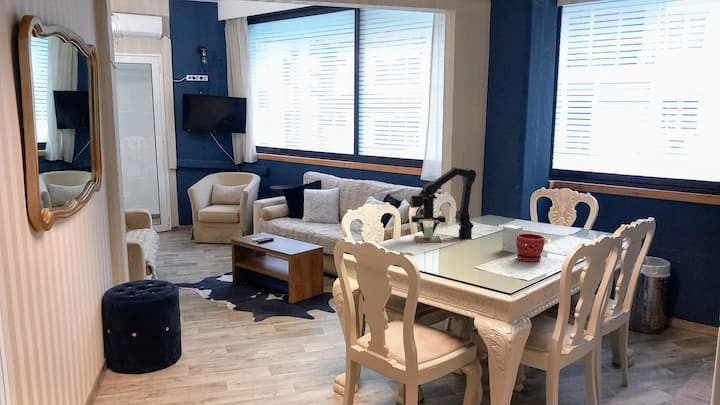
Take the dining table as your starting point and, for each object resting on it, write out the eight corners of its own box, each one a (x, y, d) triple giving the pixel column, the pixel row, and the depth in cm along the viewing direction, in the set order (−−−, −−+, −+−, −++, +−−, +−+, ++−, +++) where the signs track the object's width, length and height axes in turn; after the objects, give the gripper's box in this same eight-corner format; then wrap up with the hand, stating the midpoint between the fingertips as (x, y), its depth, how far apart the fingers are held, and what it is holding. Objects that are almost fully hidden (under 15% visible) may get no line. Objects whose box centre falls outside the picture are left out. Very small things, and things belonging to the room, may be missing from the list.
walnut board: (439, 237, 320) (439, 235, 320) (441, 242, 308) (441, 240, 308) (414, 237, 321) (414, 235, 320) (416, 242, 309) (416, 240, 309)
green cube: (432, 235, 316) (432, 226, 315) (432, 237, 311) (433, 228, 311) (423, 235, 317) (423, 226, 316) (423, 237, 312) (424, 228, 311)
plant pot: (539, 264, 267) (540, 240, 264) (512, 260, 273) (513, 237, 271) (546, 258, 277) (547, 234, 275) (520, 254, 284) (521, 231, 282)
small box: (522, 251, 290) (523, 226, 288) (514, 253, 286) (515, 228, 284) (509, 248, 296) (510, 224, 294) (501, 250, 292) (502, 226, 290)
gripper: (443, 204, 319) (443, 230, 321) (411, 204, 319) (410, 230, 322) (445, 207, 308) (445, 235, 310) (412, 207, 308) (411, 235, 311)
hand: (428, 233), depth 314 cm, fingers closed on green cube, 5 cm apart
